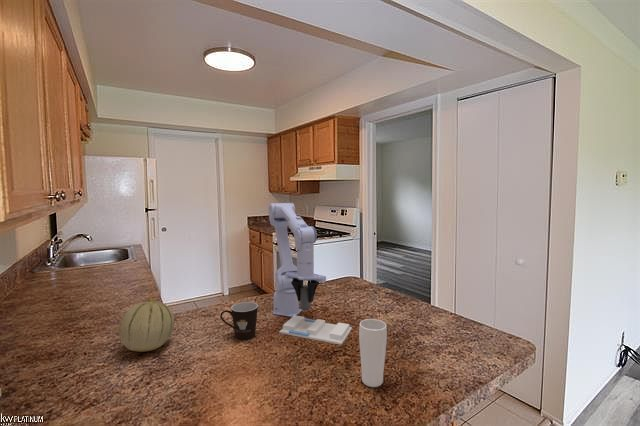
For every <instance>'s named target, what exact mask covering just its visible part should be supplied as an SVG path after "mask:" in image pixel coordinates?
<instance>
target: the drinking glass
mask: <svg viewBox="0 0 640 426" xmlns="http://www.w3.org/2000/svg"><path fill="white" fill-rule="evenodd" d="M358 326H359V332H358V341H359V342H358V343H359V344H358V345H359V353H360V355H359V356H360V366H361V381H362V383H363V384H364V386H366V387H370V388H378V387H380V386H382V384H383V383H384V371H385V370H384V368H385V360H386V352H387V351H386V350H387V342H388V341H387V338H388V336H387V334H388V333H387V331H388V329H387V324H386V322H385V321H383V320H380V319H377V318H367V319H362V320H361V321H360V322H359V325H358Z"/></svg>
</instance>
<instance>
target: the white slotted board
mask: <svg viewBox="0 0 640 426" xmlns="http://www.w3.org/2000/svg"><path fill="white" fill-rule="evenodd" d="M352 330H353V327H352V326H350V324H349V323H343V322H337V323H336V324H333V323H329V322H326V320H324V319H318V318H317V319H311V318H306V317H305V316H300V315H294V316H293V317H290V319H288V320H287V321H286V322H285V323H284V324H283V325H282V329H281V330H279V334H282V335H283V334H284V335H287V336H288V335H289V336H293V337H298V338H303V339H307V340H308V339H310V340H314V341H318V342H319V341H320V342H326V343H329V344H336V345H343V343H344V342H345V340H346V339H347V337H348V335H349V334H350V333H351V331H352Z"/></svg>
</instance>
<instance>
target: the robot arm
mask: <svg viewBox="0 0 640 426" xmlns="http://www.w3.org/2000/svg"><path fill="white" fill-rule="evenodd" d="M268 217H269V218H268V219H269V223H270V225H271V227H274V231H275V236H276V238H275V239H276V243H277V249H278V256H279V263H280V267H279V268H278V269H277V270H276V271H275V275H274V276H275V278H274V279H275V287H276V290H275V291H274V293H273V298H272V299H273V302H272V303H273V312H272V315H276V316H278V315H279V316H284V317H289V318H292V317H293V316H294V315H296V316H298V314H300V313H302V311H303V310H301V309H300V308H299V307H300V305H299V304H300V303H299V302H300V287H301V286H304V281H306V282H307V281H308V283H307V284H306V285H308V291H309V303H311V304H312V302H313V301H314V299H315V298H314V295H315V293H316V290H317V288H318V286H319V284H320V283H322V284H325V283H326V282H327V276H326V275H321V274H318V273H314V266H315V265H314V261H315V260H314V257H315V255H314V250H315V249H314V248H315V247H314V244H315V243H316V241H317V237H318V236H317V231H316V228H315V227H314V226H310V225H308V224H307V223H306V221H304V219H303V218H302V217H301V216H300V215H299V216H298V215H297V214H296V207H295V204H294V202H281V203H280V202H279V203H277V202H275V203H274V202H271V203H270V204H269V205H268ZM288 228H289V229H290V231H291V233H292V234H293V240H294V245H295V246H294V247H295V249H296V265H295V264H294V263H293V256H292V255H293V254H292V249H291V244H290V239H289V238H290V237H289V233H288ZM313 298H314V299H313Z"/></svg>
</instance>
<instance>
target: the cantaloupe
mask: <svg viewBox="0 0 640 426" xmlns="http://www.w3.org/2000/svg"><path fill="white" fill-rule="evenodd" d="M174 327H175V316H174V313H173V311H172V309H170V307H169V306H168V305H166V304H164V303H163V302H161V301H154V299H153V298H151V297H148V301H143V302H139V303H136V304H134V305H132V306H131V307H130V308H129V309H127V310H126V312H125V313H124V314H123V316H122V317H121V319H120V322H119V325H118V336H119V337H118V338H119V340H120V342H121V344H123V346H124V347H125V348H126V349H127V350H129V351H131V352H132V351H133V352H139V353H146V352H149V351H150V352H151V351H154V350H157V349H158V348H160V347H162V346H163V345H165V343H166V342H167V341H168V340H169V339H170V337H171V336H172V335H173V332H174Z"/></svg>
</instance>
